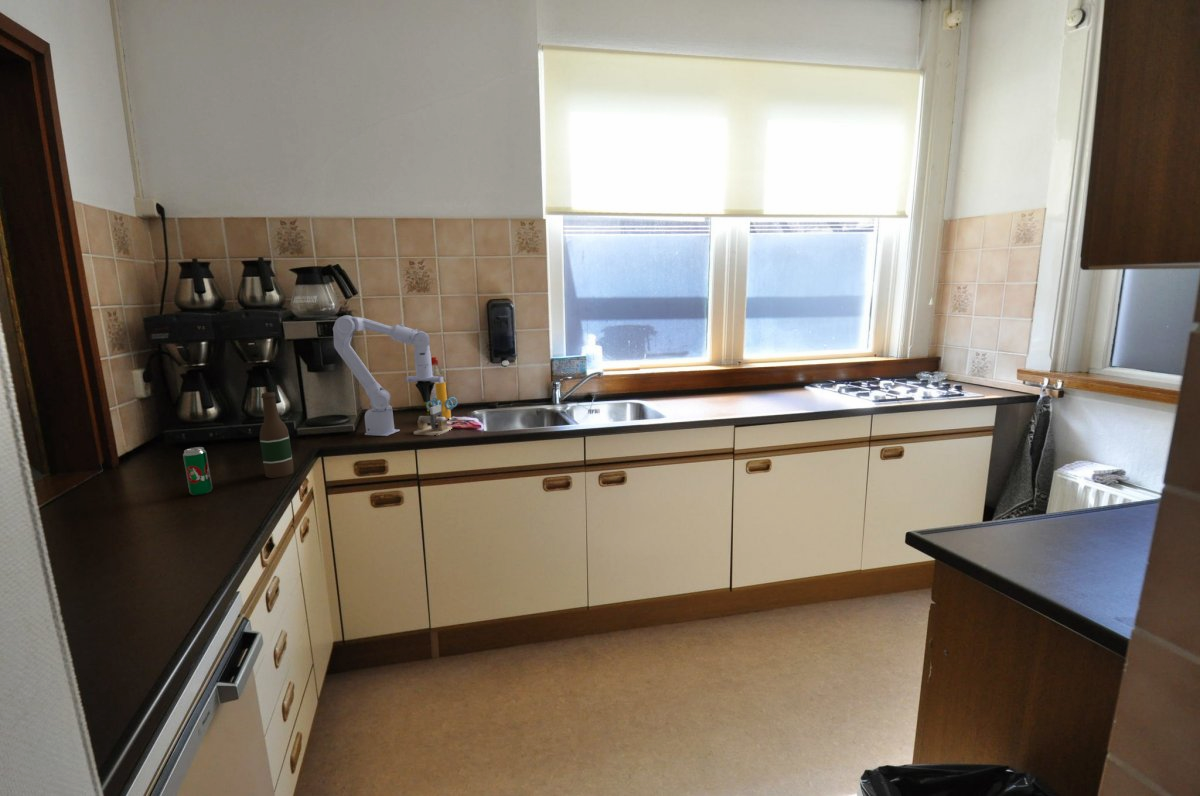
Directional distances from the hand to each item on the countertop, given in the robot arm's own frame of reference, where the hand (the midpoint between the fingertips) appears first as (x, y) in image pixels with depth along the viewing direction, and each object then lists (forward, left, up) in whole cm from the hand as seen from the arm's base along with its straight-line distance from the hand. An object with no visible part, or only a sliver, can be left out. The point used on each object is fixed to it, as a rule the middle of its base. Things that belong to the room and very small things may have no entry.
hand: (426, 401), depth 215 cm
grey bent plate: (+6, -4, -9) cm, 11 cm away
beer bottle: (-12, -56, -11) cm, 58 cm away
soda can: (-21, -73, -11) cm, 77 cm away
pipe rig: (+4, -4, -10) cm, 12 cm away
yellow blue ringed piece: (-3, +14, -11) cm, 18 cm away
